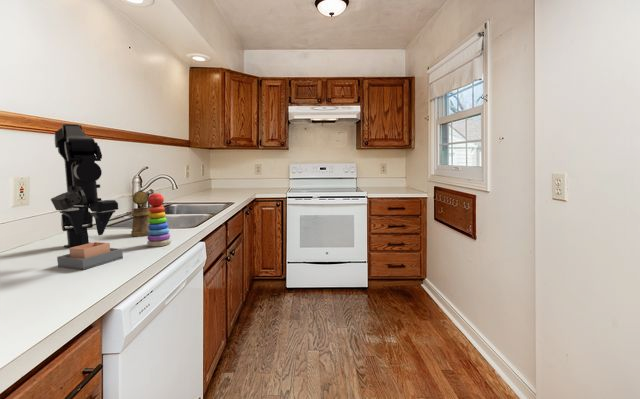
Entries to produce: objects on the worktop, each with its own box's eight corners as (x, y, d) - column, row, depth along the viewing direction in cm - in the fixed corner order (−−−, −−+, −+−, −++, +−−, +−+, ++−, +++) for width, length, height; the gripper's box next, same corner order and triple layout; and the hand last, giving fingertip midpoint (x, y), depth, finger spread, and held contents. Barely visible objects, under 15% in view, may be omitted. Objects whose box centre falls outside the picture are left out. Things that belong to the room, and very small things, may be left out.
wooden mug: (154, 229, 153) (151, 189, 151) (155, 235, 141) (152, 191, 139) (131, 231, 149) (128, 190, 147) (131, 237, 137) (127, 193, 135)
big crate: (58, 266, 98) (57, 256, 98) (99, 255, 110) (98, 246, 109) (83, 270, 95) (82, 259, 94) (122, 258, 106) (122, 248, 106)
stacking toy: (175, 242, 127) (172, 192, 125) (164, 247, 120) (160, 194, 118) (155, 242, 128) (152, 192, 126) (142, 247, 120) (138, 194, 118)
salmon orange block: (70, 263, 99) (69, 248, 99) (96, 255, 107) (95, 241, 106) (85, 264, 97) (83, 249, 97) (110, 257, 105) (109, 243, 104)
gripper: (32, 183, 95) (38, 238, 97) (79, 183, 89) (84, 242, 90) (73, 181, 106) (77, 230, 107) (117, 180, 99) (121, 233, 101)
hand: (89, 234), depth 101 cm, fingers open, 9 cm apart
